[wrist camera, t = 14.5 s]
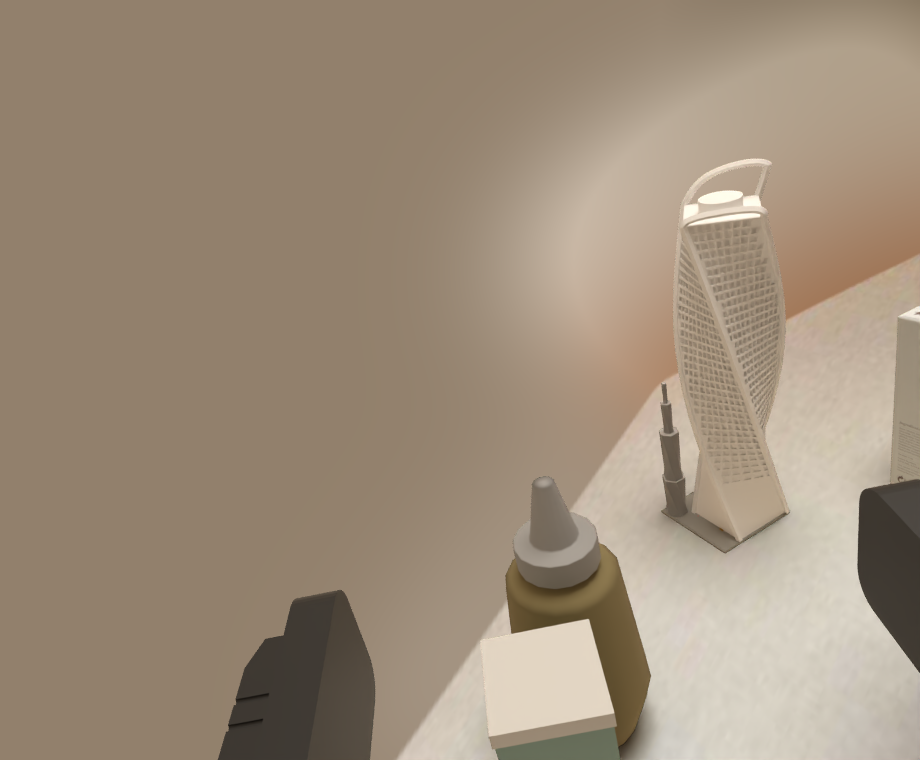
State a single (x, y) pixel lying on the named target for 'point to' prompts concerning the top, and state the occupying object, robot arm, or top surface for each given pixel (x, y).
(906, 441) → the skincare box
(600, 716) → the tin
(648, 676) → the squeeze bottle
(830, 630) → the top surface
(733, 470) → the skyscraper
